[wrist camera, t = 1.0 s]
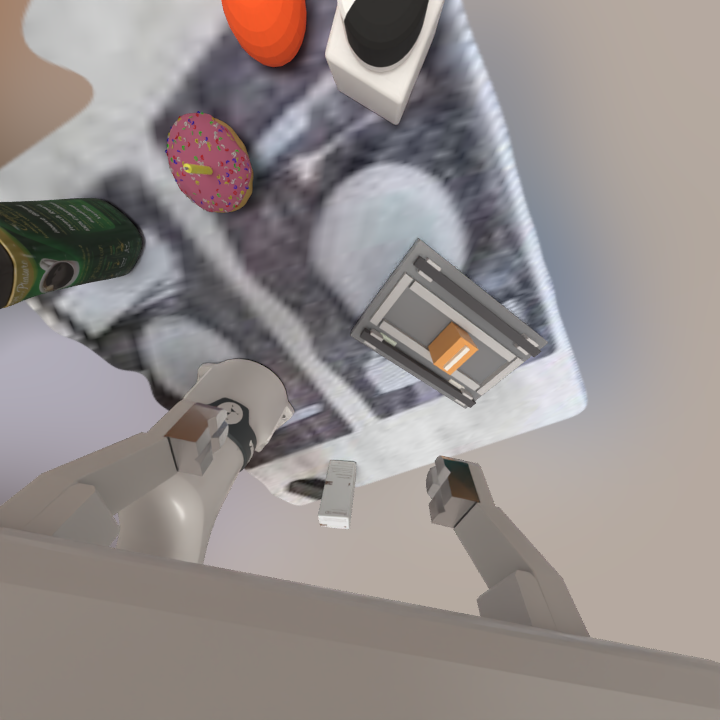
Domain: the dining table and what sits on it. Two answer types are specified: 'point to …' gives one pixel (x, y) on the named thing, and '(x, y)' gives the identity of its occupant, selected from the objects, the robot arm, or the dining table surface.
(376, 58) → the medicine bottle
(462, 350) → the block
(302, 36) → the clementine
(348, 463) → the skincare box
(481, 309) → the pair of dark pieces
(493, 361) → the panel
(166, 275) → the dining table surface
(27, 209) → the coffee jar
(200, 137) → the cupcake
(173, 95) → the dining table surface
